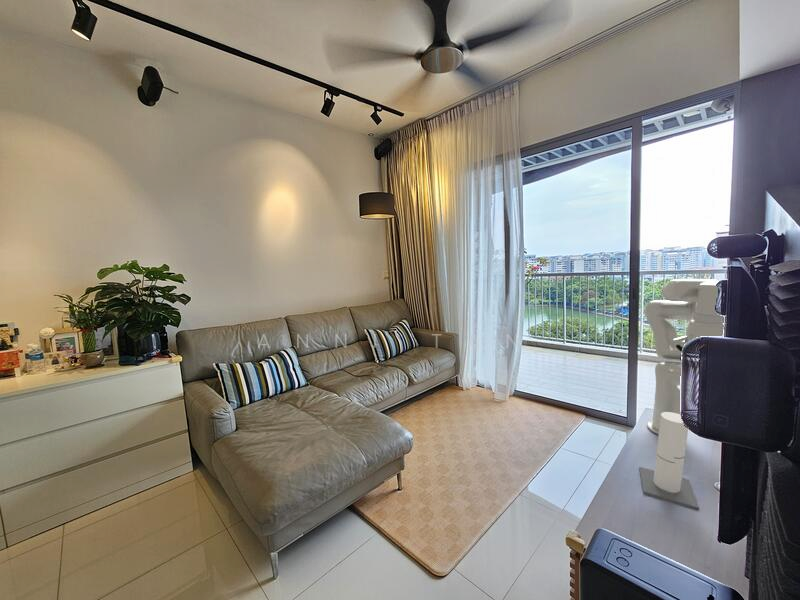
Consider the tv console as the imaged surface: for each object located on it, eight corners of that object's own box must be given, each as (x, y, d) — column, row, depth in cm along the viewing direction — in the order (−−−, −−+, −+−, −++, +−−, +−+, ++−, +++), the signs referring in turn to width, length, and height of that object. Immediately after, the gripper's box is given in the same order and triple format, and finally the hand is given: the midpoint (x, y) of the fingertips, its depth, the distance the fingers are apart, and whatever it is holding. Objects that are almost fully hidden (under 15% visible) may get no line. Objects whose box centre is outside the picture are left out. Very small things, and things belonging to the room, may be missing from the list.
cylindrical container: (685, 493, 108) (694, 424, 103) (660, 491, 109) (668, 422, 105) (672, 478, 114) (680, 412, 110) (649, 476, 116) (656, 411, 112)
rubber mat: (639, 468, 121) (639, 466, 121) (688, 481, 114) (688, 479, 114) (643, 493, 109) (643, 491, 109) (698, 509, 102) (699, 507, 102)
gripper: (740, 318, 111) (732, 366, 114) (674, 313, 120) (668, 357, 123) (747, 324, 105) (739, 374, 108) (677, 318, 114) (671, 364, 117)
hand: (701, 365), depth 116 cm, fingers open, 9 cm apart
